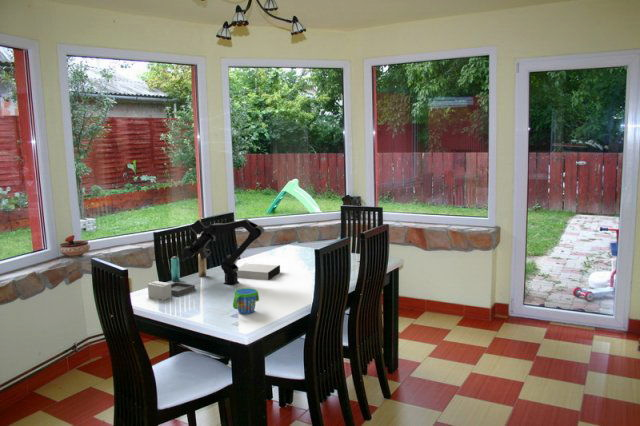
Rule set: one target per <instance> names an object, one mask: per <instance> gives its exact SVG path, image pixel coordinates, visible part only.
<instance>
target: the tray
mask: <svg viewBox="0 0 640 426" xmlns="http://www.w3.org/2000/svg"><path fill="white" fill-rule="evenodd" d="M193 291H196V285H195V284H191V283H184V282H179V281H175V282H173V283H171V295H172V296H174V297H180V296H184V295H185V294H188V293H191V292H193Z"/></svg>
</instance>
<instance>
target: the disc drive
mask: <svg viewBox="0 0 640 426" xmlns="http://www.w3.org/2000/svg"><path fill="white" fill-rule="evenodd" d="M237 267H238V271H236V272H237V278H243V279H253V280H265V281H267V280H268V281H270V280H271V279H273V278H274V277H276V276H277V275H279V274H280V273H281V265H280V264H278V265H275V264H272V265H271V264H260V263H249V262H248V263H247V262H246V263H244V264H242V265H240V266H237Z"/></svg>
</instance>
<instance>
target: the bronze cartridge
mask: <svg viewBox="0 0 640 426" xmlns="http://www.w3.org/2000/svg"><path fill="white" fill-rule="evenodd" d="M197 254H198V257H197V258H198V259H197V260H198V277H200V278H205V277H207V258H205V259H201V256H200V254H199V253H197Z"/></svg>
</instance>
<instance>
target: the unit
mask: <svg viewBox="0 0 640 426" xmlns="http://www.w3.org/2000/svg"><path fill="white" fill-rule="evenodd" d="M171 284H172V283H170V282H165V281H164V282H163V281H158V280H155V281H152V282H150V283H147V291H148V292H147V294H148V298H151V299H156V300H157V299H158V300H162V301H164V300H166V299H169V298H171V297H172V296H173V295H171Z"/></svg>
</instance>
